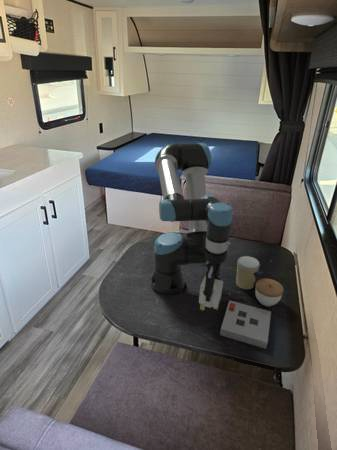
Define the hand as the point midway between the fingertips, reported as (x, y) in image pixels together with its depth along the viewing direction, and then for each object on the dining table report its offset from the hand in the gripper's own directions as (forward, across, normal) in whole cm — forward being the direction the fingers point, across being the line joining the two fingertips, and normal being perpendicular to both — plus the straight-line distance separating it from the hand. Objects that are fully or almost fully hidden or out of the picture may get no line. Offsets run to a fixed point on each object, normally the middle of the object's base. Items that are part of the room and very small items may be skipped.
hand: (209, 299), depth 111 cm
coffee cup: (+9, +25, -10) cm, 29 cm away
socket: (+8, 0, -14) cm, 16 cm away
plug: (+3, 0, 0) cm, 3 cm away
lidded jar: (+8, +17, -20) cm, 28 cm away
